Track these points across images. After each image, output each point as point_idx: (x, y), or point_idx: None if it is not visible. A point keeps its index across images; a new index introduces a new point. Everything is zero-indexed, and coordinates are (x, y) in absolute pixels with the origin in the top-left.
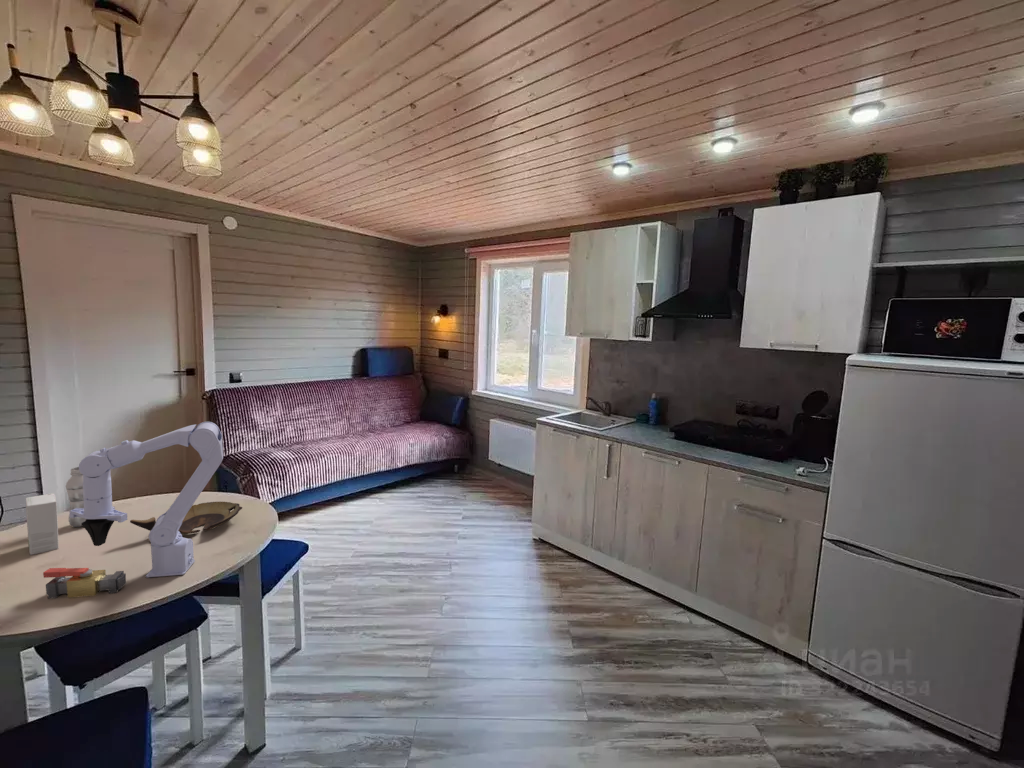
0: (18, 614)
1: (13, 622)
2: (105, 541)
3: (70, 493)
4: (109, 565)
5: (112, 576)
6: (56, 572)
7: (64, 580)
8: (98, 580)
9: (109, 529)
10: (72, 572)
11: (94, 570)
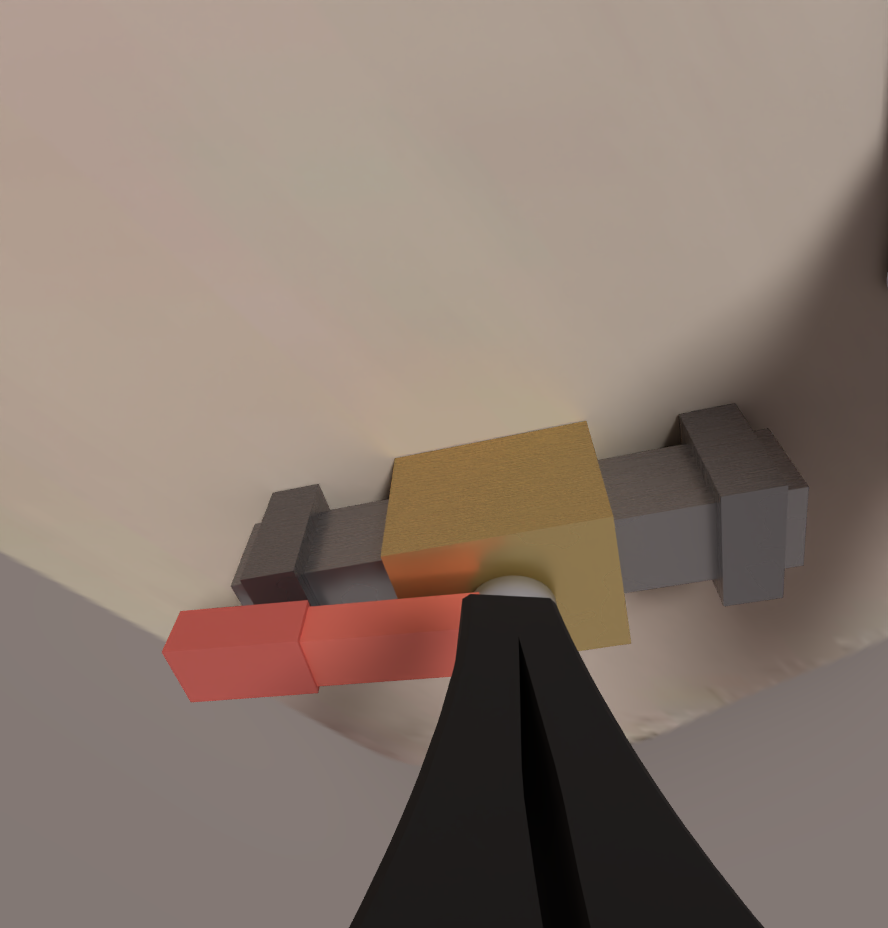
0: None
1: (361, 732)
2: (558, 616)
3: None
4: (307, 43)
5: (737, 572)
6: (295, 690)
7: (348, 600)
8: (628, 589)
9: (686, 830)
10: (423, 672)
11: (518, 537)
